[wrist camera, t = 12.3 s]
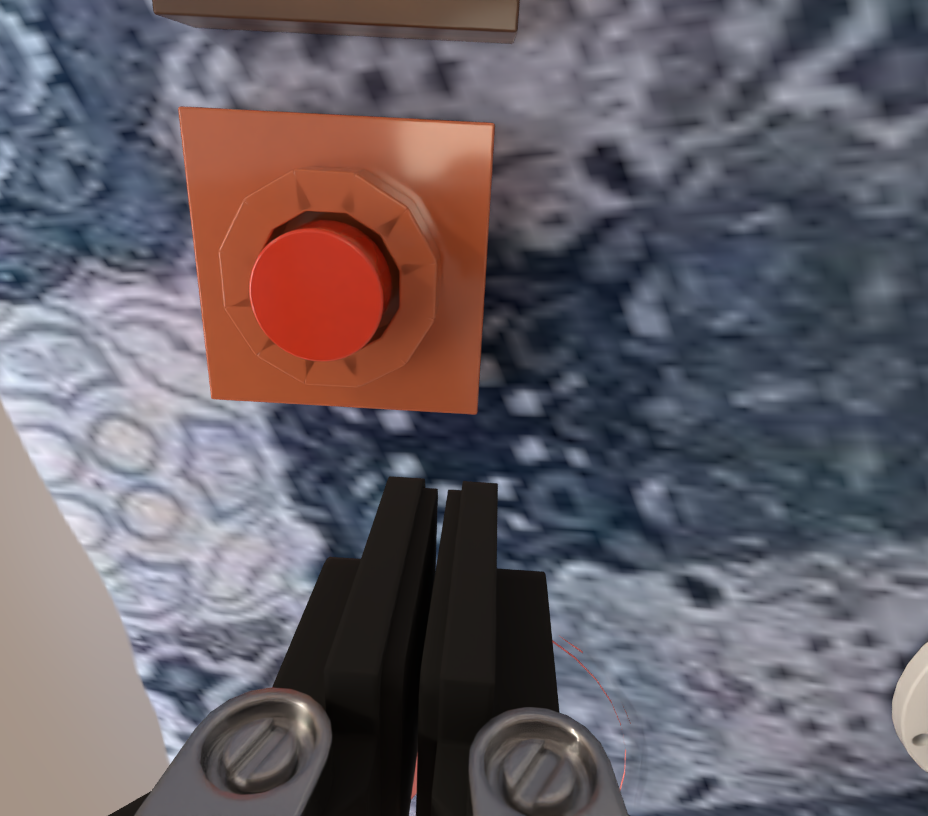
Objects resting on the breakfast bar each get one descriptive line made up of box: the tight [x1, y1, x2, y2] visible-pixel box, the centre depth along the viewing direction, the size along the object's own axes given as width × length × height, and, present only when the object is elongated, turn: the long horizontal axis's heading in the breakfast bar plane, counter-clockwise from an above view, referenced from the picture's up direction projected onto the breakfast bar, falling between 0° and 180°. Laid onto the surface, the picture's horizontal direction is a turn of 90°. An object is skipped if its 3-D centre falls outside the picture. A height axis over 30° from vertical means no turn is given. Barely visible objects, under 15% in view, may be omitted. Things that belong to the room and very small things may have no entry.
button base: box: [178, 106, 495, 414], centre depth 23 cm, size 10×10×5 cm
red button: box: [249, 220, 392, 362], centre depth 20 cm, size 4×4×2 cm
